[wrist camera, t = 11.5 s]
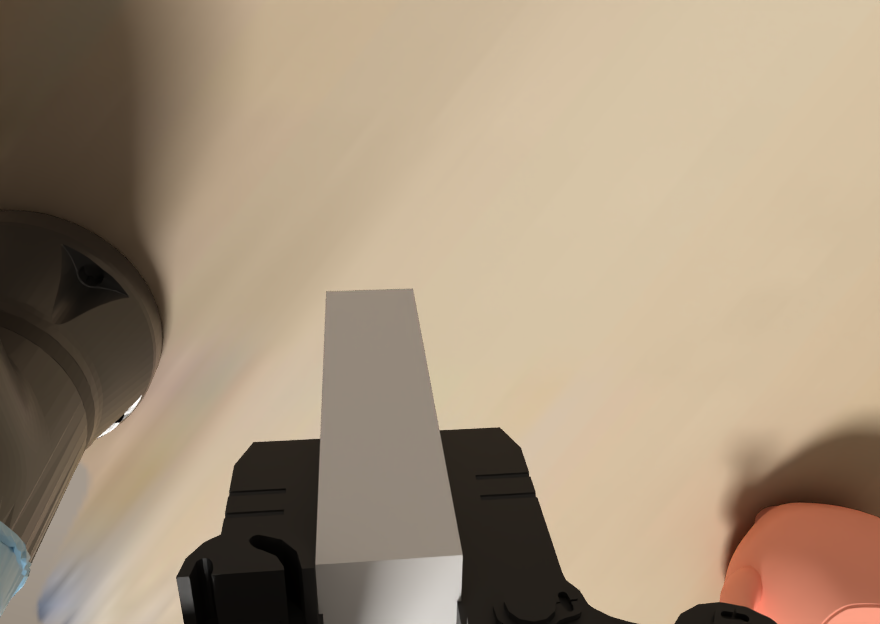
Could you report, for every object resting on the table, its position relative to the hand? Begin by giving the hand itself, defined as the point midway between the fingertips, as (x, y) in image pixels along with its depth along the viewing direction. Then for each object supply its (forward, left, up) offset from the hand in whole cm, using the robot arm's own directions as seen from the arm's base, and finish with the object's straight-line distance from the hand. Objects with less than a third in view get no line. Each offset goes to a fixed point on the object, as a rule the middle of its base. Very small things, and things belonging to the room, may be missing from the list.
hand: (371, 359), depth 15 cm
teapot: (+33, -37, -34) cm, 60 cm away
